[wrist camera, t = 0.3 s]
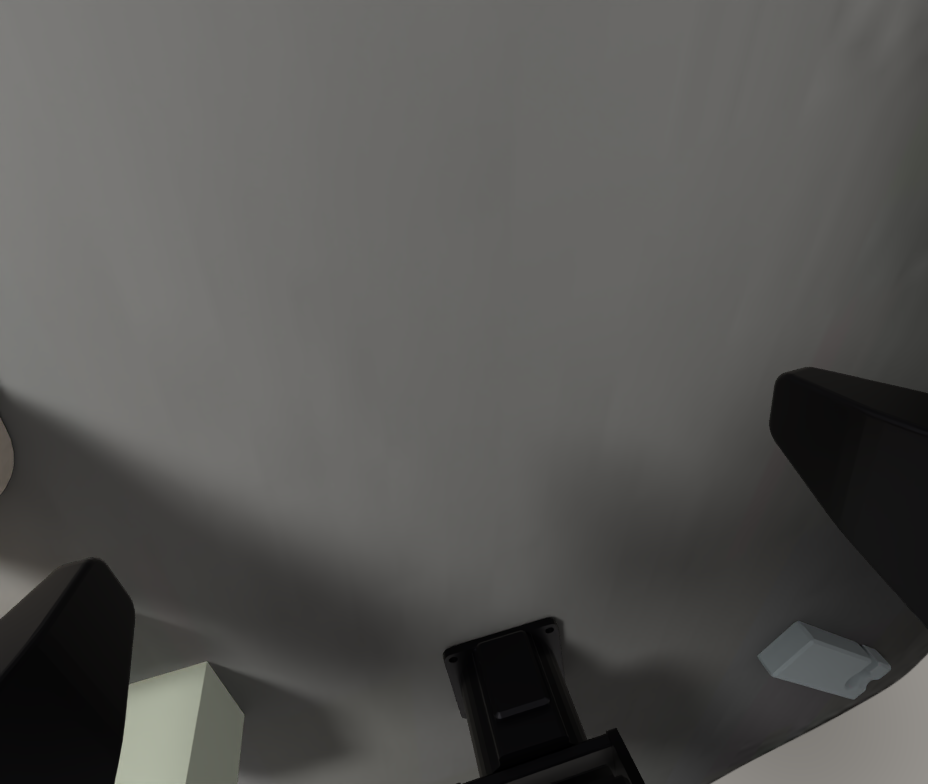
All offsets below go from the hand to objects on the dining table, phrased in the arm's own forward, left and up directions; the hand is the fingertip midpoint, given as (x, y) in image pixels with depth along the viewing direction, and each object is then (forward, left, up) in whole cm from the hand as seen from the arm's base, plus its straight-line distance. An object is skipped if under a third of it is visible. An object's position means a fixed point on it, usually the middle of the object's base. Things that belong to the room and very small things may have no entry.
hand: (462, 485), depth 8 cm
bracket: (-37, -23, -15) cm, 46 cm away
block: (-22, +16, -14) cm, 30 cm away
